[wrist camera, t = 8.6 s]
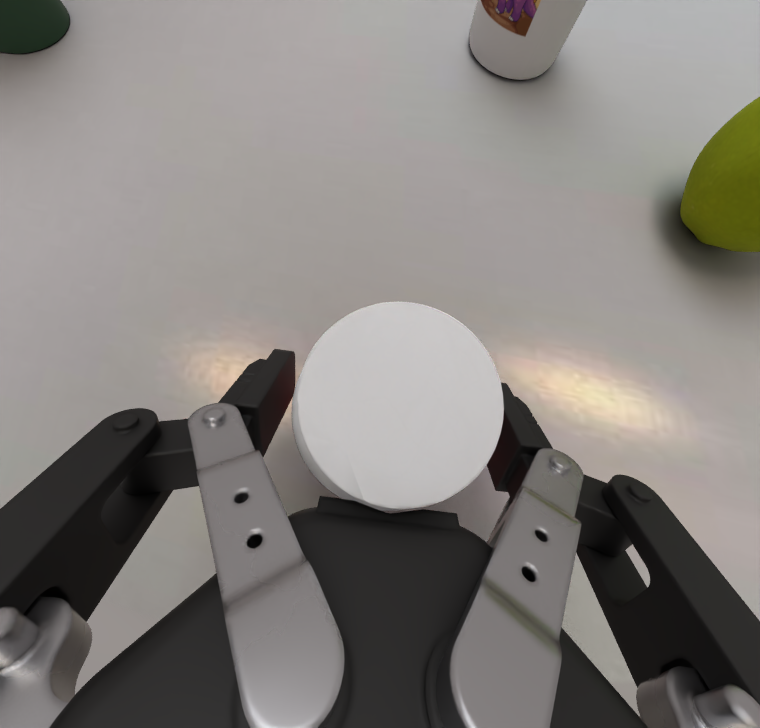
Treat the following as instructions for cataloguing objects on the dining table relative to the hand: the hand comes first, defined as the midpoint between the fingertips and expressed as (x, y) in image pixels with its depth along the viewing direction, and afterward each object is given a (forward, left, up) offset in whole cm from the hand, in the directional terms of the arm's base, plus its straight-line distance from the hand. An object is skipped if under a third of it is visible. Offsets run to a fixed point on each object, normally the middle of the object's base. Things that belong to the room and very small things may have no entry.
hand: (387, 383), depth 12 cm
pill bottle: (-1, -1, -6) cm, 6 cm away
